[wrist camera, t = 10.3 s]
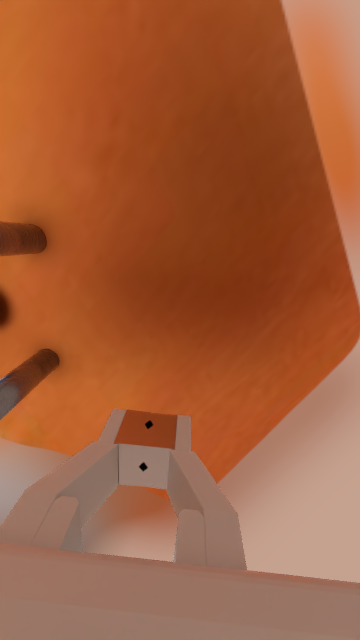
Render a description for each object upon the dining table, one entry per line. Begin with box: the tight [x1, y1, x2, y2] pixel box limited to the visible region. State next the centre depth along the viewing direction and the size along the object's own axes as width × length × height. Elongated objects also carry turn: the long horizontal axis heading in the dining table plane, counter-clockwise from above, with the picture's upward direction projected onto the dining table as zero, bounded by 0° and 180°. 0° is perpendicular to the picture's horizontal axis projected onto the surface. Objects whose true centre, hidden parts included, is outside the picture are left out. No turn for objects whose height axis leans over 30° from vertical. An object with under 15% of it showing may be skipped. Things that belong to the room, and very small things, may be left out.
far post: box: [0, 349, 59, 420], centre depth 20 cm, size 2×2×9 cm
